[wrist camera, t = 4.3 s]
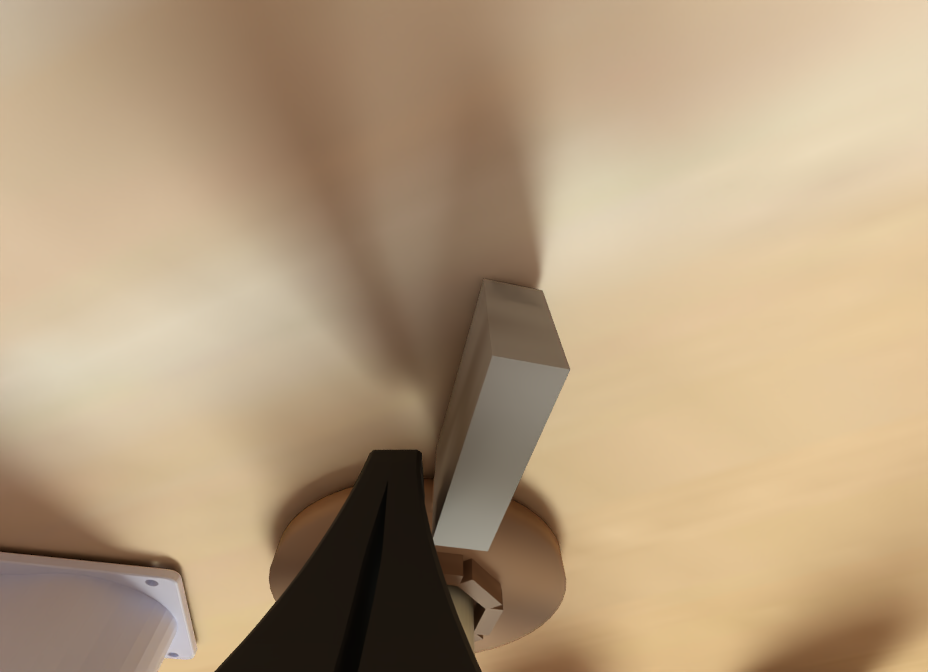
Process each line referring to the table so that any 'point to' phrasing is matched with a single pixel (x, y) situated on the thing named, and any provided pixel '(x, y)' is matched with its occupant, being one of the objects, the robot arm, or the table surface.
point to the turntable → (481, 473)
